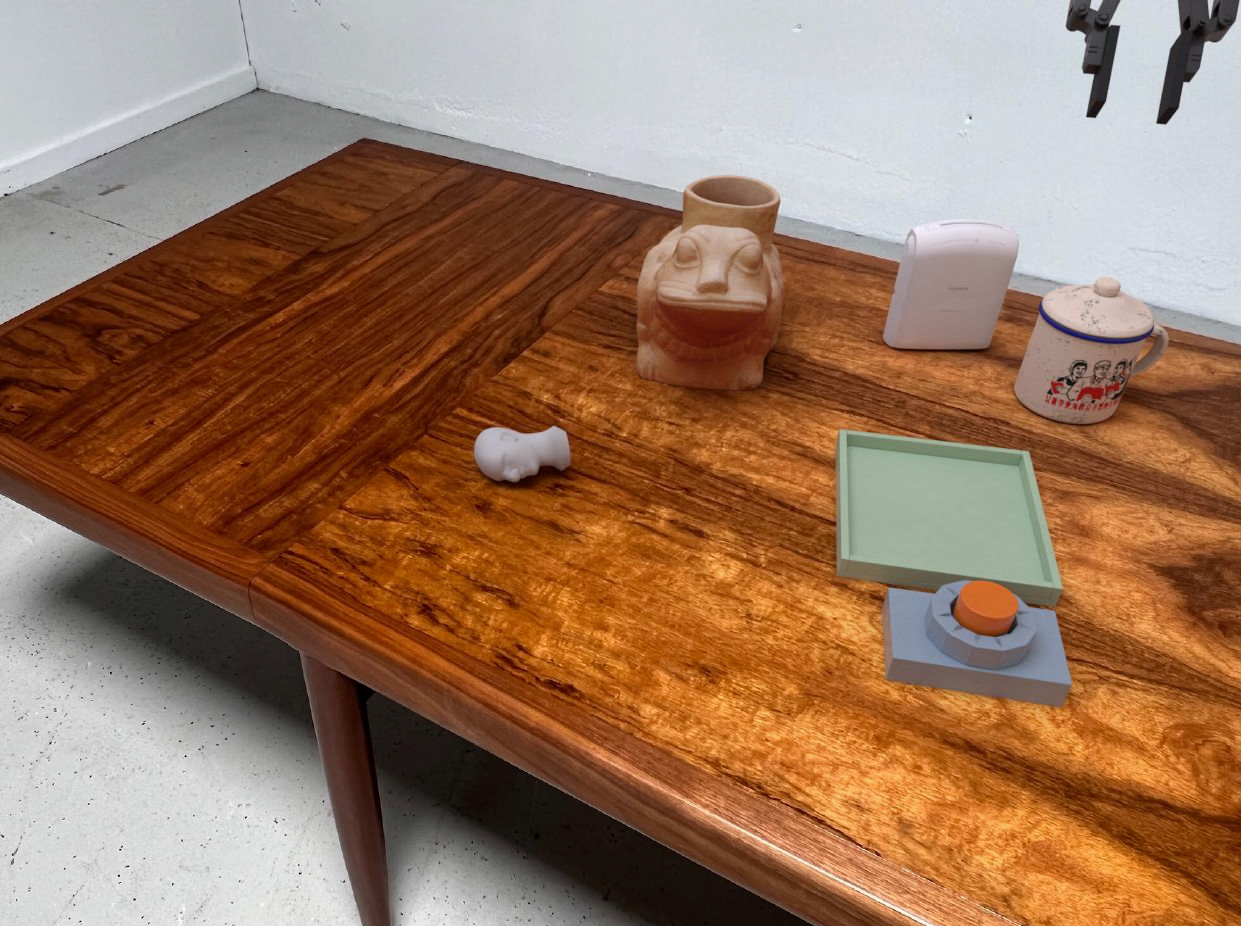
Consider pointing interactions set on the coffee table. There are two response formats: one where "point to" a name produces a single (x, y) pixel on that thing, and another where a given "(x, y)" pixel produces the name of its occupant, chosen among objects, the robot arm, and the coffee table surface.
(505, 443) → the smooth white sculpture
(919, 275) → the photo printer
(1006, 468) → the tray
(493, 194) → the coffee table surface
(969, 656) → the control block
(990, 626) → the button
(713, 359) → the ceramic vessel
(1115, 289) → the teacup with lid
